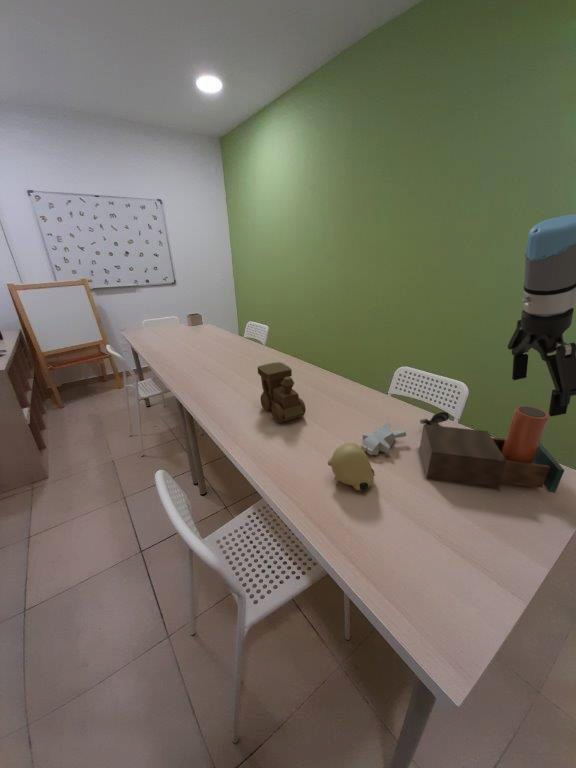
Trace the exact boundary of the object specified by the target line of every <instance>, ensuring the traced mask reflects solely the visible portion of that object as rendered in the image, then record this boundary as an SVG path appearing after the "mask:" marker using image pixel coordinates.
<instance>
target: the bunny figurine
mask: <svg viewBox="0 0 576 768" xmlns="http://www.w3.org/2000/svg"><path fill="white" fill-rule="evenodd" d="M391 428H392V424H391V423H390V422H385V423H384V424H383V426H378V427H376V429H375V430H374V431H373V432H372V433H368V432H364V433H363V434H362V441H363V442H362V444H360V447H361V448H362V450H363V451H364V452H365V453H367V454H369V455H370V456H378V455H379V453H380V452H381V453H386V454H390V453H391V446H393V444H394V442H395V439H397V438H404V437H407V433H406V430H404V429H398V430H395V431H392V430H391Z"/></svg>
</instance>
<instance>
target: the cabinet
mask: <svg viewBox="0 0 576 768" xmlns="http://www.w3.org/2000/svg"><path fill="white" fill-rule="evenodd" d="M492 438H493V436H491V434H490V433H489V431H488V430H479V429H471V428H462V427H452V426H442V425H441V426H439V425H437V426H434V425H426V424H423V427H422V432H421V438H420V443H419V453H420V458H421V462H422V466H423V470H424V475H425V478H426V479H427V480H433V481H434V480H435V481H438V482H439V481H440V482H448V483H455V484H460V485H467V486H473V487H481V488H482V487H483V488H489V489H495V490H498V489H499V486H500V484H501V482H500V480H501V477H502V474H503V471H504V468H505V465H506V462H507V461H506V459H505V458H504V456H503V454H502V453H501V451H500V450H499V448H498V447H497V445H496V444H495V442H494V440H493V439H492Z"/></svg>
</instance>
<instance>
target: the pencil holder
mask: <svg viewBox="0 0 576 768" xmlns="http://www.w3.org/2000/svg"><path fill="white" fill-rule="evenodd" d="M549 419H550V415H549V412H547V411H545V410H543V409H541V408H538V407H535V406H529V405H517V406H516V407H515V408H514V411H513V414H512V417H511V420H510V424H509V427H508V429H507V433H506V436H505V438H504V439H505V442H504V445H503V449H502V452H501V453H502V454H503V456H504V458H505V459H506V460H509V461H517V462H525V463H532V462H533V459H534V457H535V454H536V451H537V449H538V446H539V443H541V440H542V437H543V435H544V433H545V430H546V428H547V425H548V422H549Z"/></svg>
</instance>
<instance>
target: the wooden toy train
mask: <svg viewBox="0 0 576 768" xmlns="http://www.w3.org/2000/svg"><path fill="white" fill-rule="evenodd" d="M292 371H293V369H292V368H290V366H288V365H286V364H285V363H283V362H280V361H279V362H271V363H270V362H269V363H266V364H265V363H264V364H262V365H259V366H257V374H258V375H259V376H260V380H261V387H262V393H261V395H260V404H261V407H262V409H263V410H264V411H266V412H267V411H270V410H272V411H271V413H272V417H273V419H274V420H275V422H277V423H278V424H279V423H281V424H282V422H284V421H285V422H288V421H290V420H294V419H296V418H297V419H298V418H300V417H304V416H305V414H306V411H307V410H306V409H307V408H306V405H305V402H304V400H303V399H302V398H301V397H300V396H299V393H298V392H297V391H296V390H295V389H293V388H294V385H295V381H294V379H293V378H292V377H293V376H292V375H293V373H292Z"/></svg>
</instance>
